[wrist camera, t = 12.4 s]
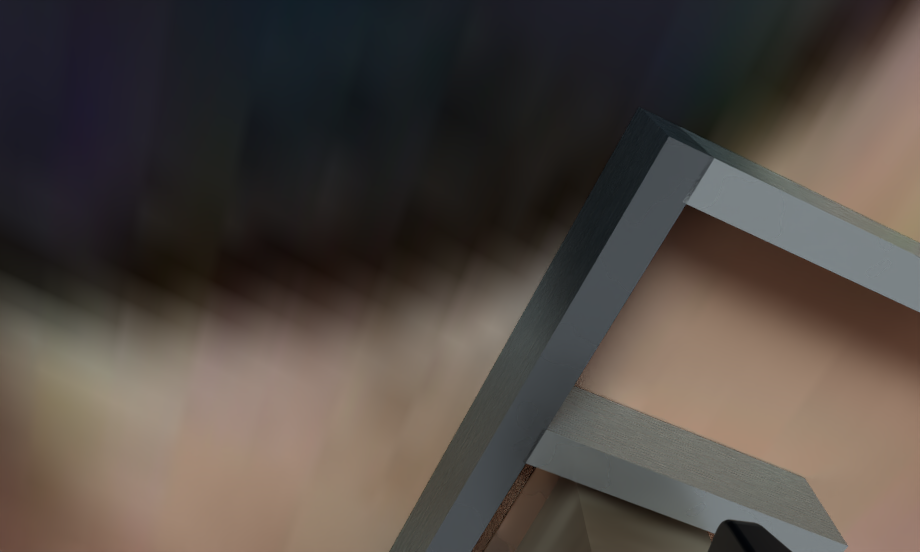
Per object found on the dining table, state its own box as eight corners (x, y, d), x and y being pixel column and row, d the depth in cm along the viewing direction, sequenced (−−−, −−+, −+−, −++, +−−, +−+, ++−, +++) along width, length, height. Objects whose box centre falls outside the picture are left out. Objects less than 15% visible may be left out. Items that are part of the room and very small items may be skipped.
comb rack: (379, 570, 26) (370, 644, 24) (639, 106, 20) (669, 136, 17) (655, 661, 29) (677, 739, 26) (974, 269, 22) (1048, 319, 19)
